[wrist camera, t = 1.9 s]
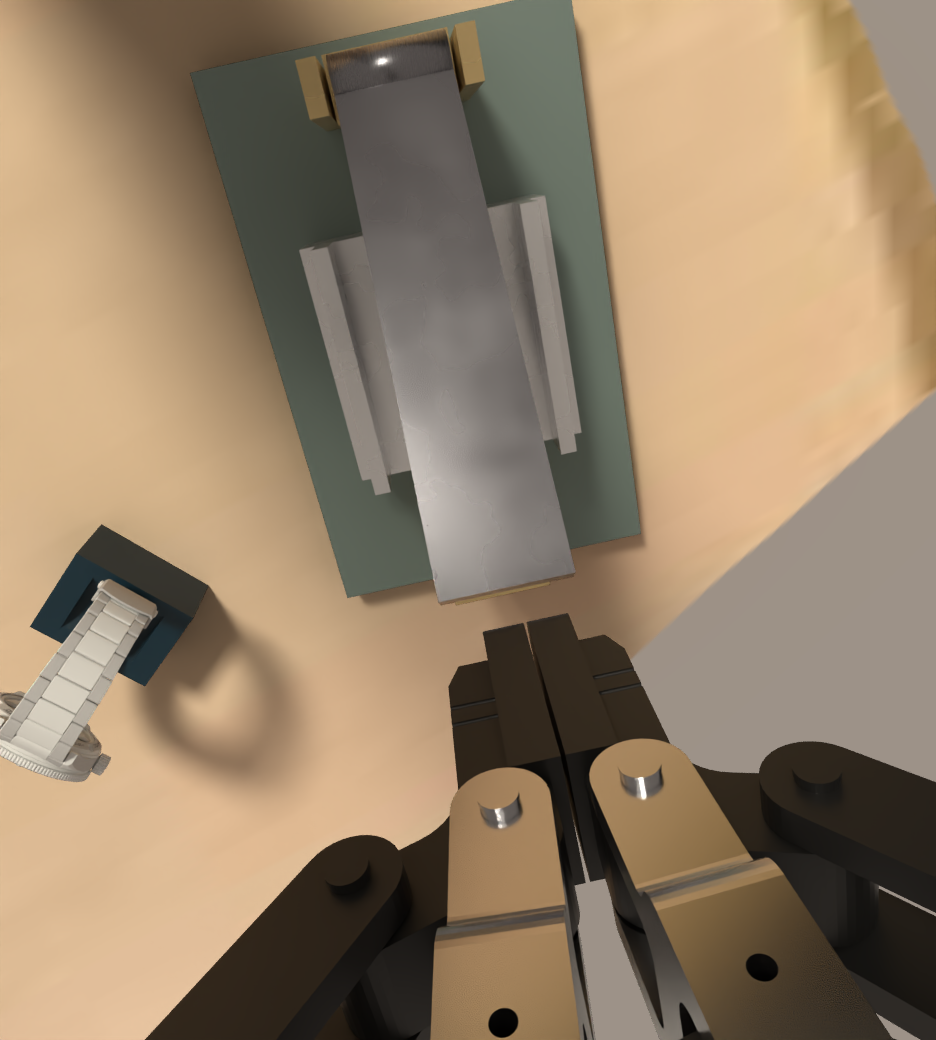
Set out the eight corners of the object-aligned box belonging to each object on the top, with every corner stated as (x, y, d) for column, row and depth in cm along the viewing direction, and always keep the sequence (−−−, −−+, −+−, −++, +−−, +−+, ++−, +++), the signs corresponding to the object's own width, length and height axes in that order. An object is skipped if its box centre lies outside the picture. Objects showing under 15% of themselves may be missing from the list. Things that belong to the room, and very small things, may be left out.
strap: (334, 81, 25) (322, 42, 24) (446, 57, 25) (442, 15, 24) (442, 606, 22) (436, 600, 20) (572, 578, 22) (576, 570, 20)
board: (199, 77, 31) (190, 72, 29) (562, -4, 31) (569, -12, 29) (349, 583, 39) (347, 597, 38) (632, 521, 39) (640, 533, 38)
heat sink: (307, 244, 32) (292, 254, 27) (532, 194, 32) (555, 196, 27) (365, 457, 35) (359, 498, 31) (567, 412, 35) (592, 447, 31)
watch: (38, 623, 39) (-89, 779, 29) (120, 495, 37) (14, 615, 27) (145, 678, 40) (60, 845, 30) (229, 559, 38) (168, 695, 28)
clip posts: (313, 77, 30) (289, 48, 23) (458, 45, 30) (475, 7, 23) (426, 534, 37) (432, 610, 30) (542, 508, 37) (573, 579, 30)
